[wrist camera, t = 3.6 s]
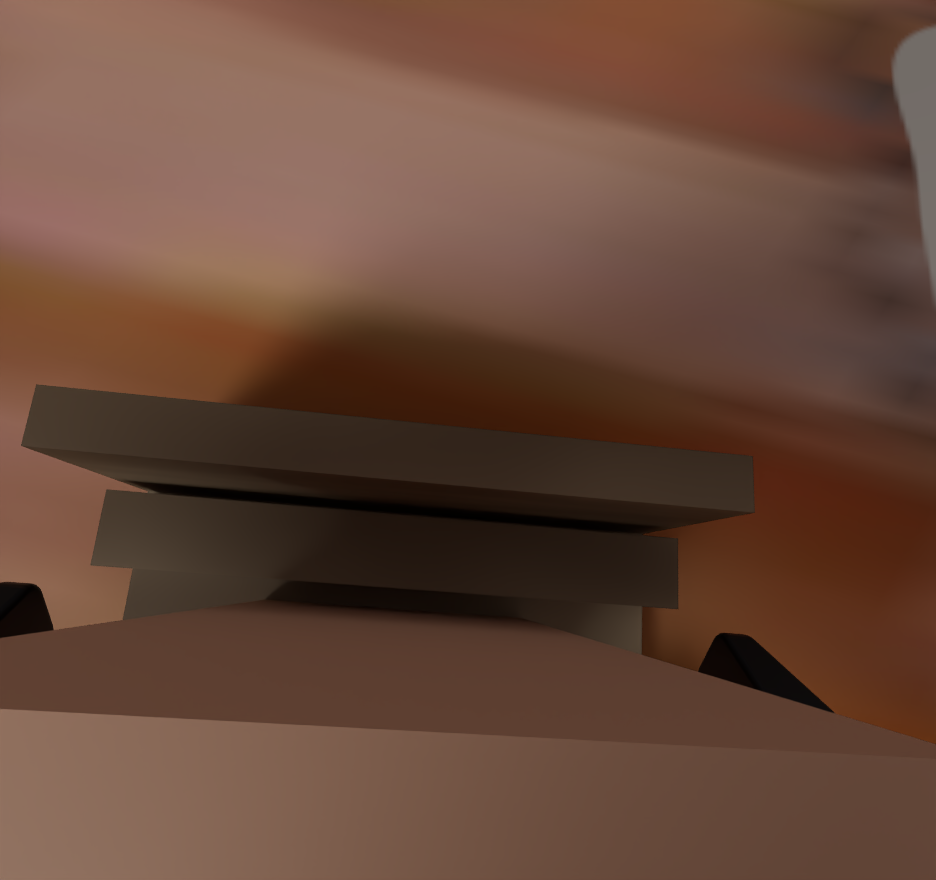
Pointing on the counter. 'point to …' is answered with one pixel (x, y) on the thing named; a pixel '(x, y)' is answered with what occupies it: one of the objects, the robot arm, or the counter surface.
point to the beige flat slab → (429, 758)
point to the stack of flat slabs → (384, 511)
